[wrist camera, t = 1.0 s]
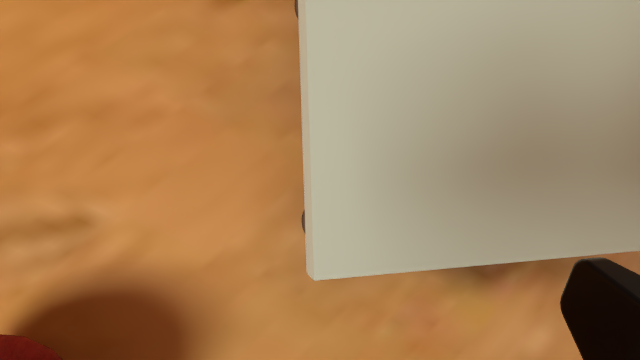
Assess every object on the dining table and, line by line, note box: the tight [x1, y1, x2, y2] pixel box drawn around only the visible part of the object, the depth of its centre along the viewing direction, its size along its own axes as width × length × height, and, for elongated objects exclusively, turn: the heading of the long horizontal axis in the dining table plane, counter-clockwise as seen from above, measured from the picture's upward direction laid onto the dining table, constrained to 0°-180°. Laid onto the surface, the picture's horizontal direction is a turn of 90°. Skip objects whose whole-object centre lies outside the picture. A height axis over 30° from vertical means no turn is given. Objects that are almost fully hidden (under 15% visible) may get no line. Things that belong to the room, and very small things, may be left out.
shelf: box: [295, 0, 640, 281], centre depth 24 cm, size 12×14×4 cm
